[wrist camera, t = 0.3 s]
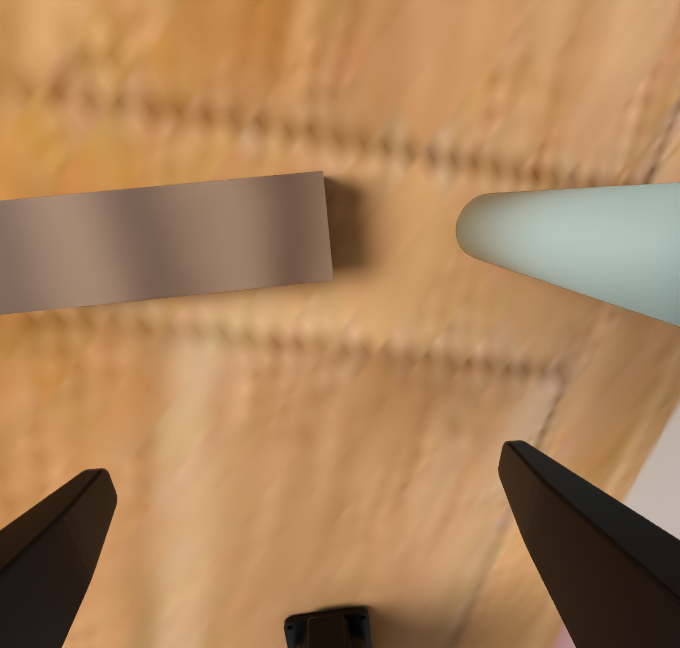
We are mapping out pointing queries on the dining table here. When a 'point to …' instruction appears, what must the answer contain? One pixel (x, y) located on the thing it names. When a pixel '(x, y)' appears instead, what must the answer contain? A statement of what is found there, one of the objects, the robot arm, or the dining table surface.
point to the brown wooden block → (163, 242)
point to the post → (586, 241)
